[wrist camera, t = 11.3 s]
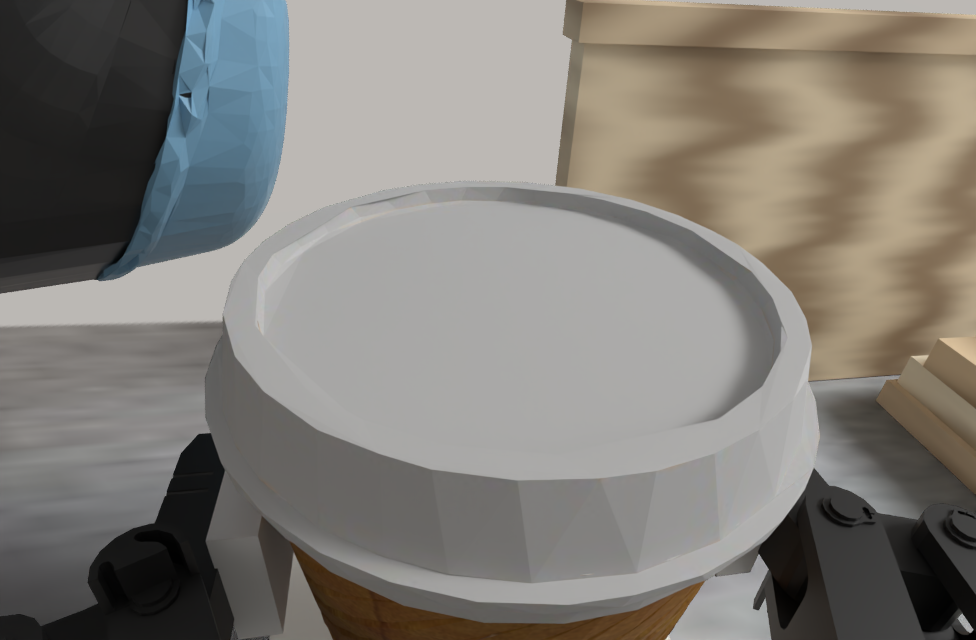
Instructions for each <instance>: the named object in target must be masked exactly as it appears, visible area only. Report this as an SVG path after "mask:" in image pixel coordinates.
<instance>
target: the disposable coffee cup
mask: <svg viewBox="0 0 976 640" xmlns="http://www.w3.org/2000/svg"><path fill="white" fill-rule="evenodd" d="M811 350H812V343H811V339H810V334H809V329H808V325H807V320H806V318H805V316H804V314H803V312H802V310H801V308H800V306H799V305H798V303H797V301H796V299H795V297H794V295H793V293H792V292H791V291H790V290H789V289H788V288H787V287H786V286H785V285H784V284H783V283H782V282H781V281H780V280H779V279H778V278H777V277H776V276H775V275H774V274H773V273H772V272H771V271H770V270H769V269H768V268H767V267H766V266H765V265H764V264H763V263H762V262H761V261H759V260H758V259H756V258H755V257H754V256H752V255H751V254H750V253H748V252H747V251H746V250H744V249H743V248H742V247H740V246H739V245H737V244H736V243H734V242H732V241H730V240H728V239H727V238H725V237H723V236H721V235H719V234H717V233H716V232H714V231H712V230H710V229H707V228H705V227H703V226H701V225H699V224H696V223H694V222H692V221H690V220H688V219H685V218H683V217H681V216H679V215H676V214H673V213H670V212H667V211H664V210H661V209H658V208H655V207H652V206H649V205H646V204H643V203H640V202H637V201H634V200H630V199H626V198H621V197H617V196H612V195H607V194H603V193H598V192H594V191H589V190H584V189H579V188H571V187H562V186H553V185H545V184H536V183H527V182H498V181H497V182H496V181H457V182H445V183H432V184H419V185H413V186H407V187H401V188H395V189H389V190H383V191H379V192H376V193H373V194H369V195H365V196H362V197H358V198H355V199H351V200H348V201H344V202H341V203H337V204H334V205H330V206H327V207H324V208H322V209H320V210H318V211H315V212H313V213H311V214H309V215H307V216H305V217H302V218H301V219H299V220H296V221H294V222H292V223H290V224H288V225H287V226H285V227H284V228H282V229H281V230H279V231H278V232H276V233H275V234H274V235H272V236H271V237H269V238H268V239H266V240H265V241H263V242H262V243H261V244H260V245H259V246H258V247H257V248H256V249H255V250H254V251H253V252H252V253H251V254H250V255H249V256H248V257H247V258H246V259H245V260H244V262H243V263H242V265H241V266H240V268H239V269H238V271H237V273H236V274H235V276H234V278H233V279H232V281H231V284H230V288H229V292H228V296H227V300H226V304H225V307H224V311H223V335H222V337H221V339H220V340H219V342H218V344H217V345H216V348H215V351H214V354H213V357H212V360H211V362H210V365H209V368H208V371H207V374H206V377H205V412H206V421H207V423H208V426H209V429H210V432H211V435H212V438H213V441H214V444H215V446H216V449H217V452H218V455H219V458H220V461H221V464H222V465H223V467H224V469H225V471H226V472H227V474H228V476H229V478H230V480H231V481H232V483H233V485H234V487H235V488H236V490H237V492H238V493H239V494H240V495H241V496H242V497H243V498H244V499H245V500H246V501H248V502H249V503H250V504H251V505H252V506H253V507H254V508H255V509H256V510H257V511H258V512H259V513H260V514H261V515H262V516H263V517H264V518H265V519H266V520H267V521H268V522H269V523H270V524H271V525H272V526H273V527H274V528H275V529H276V530H277V531H278V532H279V533H280V534H281V535H282V536H283V537H284V538H286V539H287V540H289V542H290V544H291V547H292V549H293V551H294V553H295V556H296V558H297V560H298V562H299V565H300V567H301V569H302V571H303V574H304V576H305V578H306V581H307V583H308V585H309V587H310V589H311V592H312V594H313V596H314V599H315V601H316V603H317V605H318V607H319V609H320V611H321V614H322V617H323V620H324V623H325V624H326V626H327V627H328V629H329V632H330V634H331V637H332V639H333V640H665V639H666V638H667V636H668V635H669V634H670V632H671V631H672V630H673V628H674V626H675V624H676V623H677V622H678V620H679V619H680V617H681V616H682V615H683V613H684V612H685V610H686V609H687V607H688V605H689V604H690V602H691V601H692V600H693V598H694V597H695V595H696V594H697V593H698V591H699V589H700V587H701V586H702V585H703V583H704V582H705V581H706V580H708V579H709V578H711V577H712V576H714V575H715V574H717V573H718V572H720V571H721V570H723V569H724V568H726V567H727V566H728V565H730V564H731V563H733V562H734V561H736V560H737V559H739V558H740V557H742V556H743V555H745V554H746V553H748V552H749V551H751V550H752V549H754V548H755V547H756V546H758V545H759V544H761V543H762V542H764V541H765V540H766V539H767V538H768V537H769V536H770V535H771V534H772V532H773V531H774V530H775V529H776V528H777V527H778V525H779V524H780V523H781V522H782V521H783V519H784V518H785V517H786V515H787V514H788V513H789V511H790V510H791V509H792V507H793V506H794V505H795V503H796V502H797V500H798V499H799V497H800V496H801V494H802V493H803V491H804V490H805V488H806V485H807V483H808V480H809V478H810V476H811V473H812V471H813V469H814V464H815V459H816V454H817V449H818V444H819V439H820V432H819V424H818V416H817V407H816V400H815V397H814V395H813V393H812V390H811V388H810V385H809V383H808V377H809V368H810V359H811Z"/></svg>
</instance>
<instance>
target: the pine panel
mask: <svg viewBox="0 0 976 640" xmlns="http://www.w3.org/2000/svg"><path fill="white" fill-rule="evenodd" d="M563 35H564V36H566V37H568V38H570V39H572V45H571V54H570V62H569V71H568V80H567V89H566V97H565V107H564V115H563V123H562V132H561V140H560V149H559V158H558V167H557V175H556V185H555V186H562V187H571V188H579V189H584V190H589V191H594V192H598V193H603V194H607V195H612V196H617V197H621V198H626V199H630V200H634V201H637V202H640V203H643V204H646V205H649V206H652V207H655V208H658V209H661V210H664V211H667V212H670V213H673V214H676V215H679V216H681V217H683V218H685V219H688V220H690V221H692V222H694V223H696V224H699V225H701V226H703V227H705V228H707V229H710V230H712V231H714V232H716V233H717V234H719V235H721V236H723V237H725V238H727V239H728V240H730V241H732V242H734V243H736V244H737V245H739V246H740V247H742V248H743V249H744V250H746V251H747V252H748V253H750V254H751V255H752V256H754V257H755V258H756V259H758V260H759V261H761V262H762V263H763V264H764V265H765V266H766V267H767V268H768V269H769V270H770V271H771V272H772V273H773V274H774V275H775V276H776V277H777V278H778V279H779V280H780V281H781V282H782V283H783V284H784V285H785V286H786V287H787V288H788V289H789V290H790V291H791V292H792V293H793V295H794V297H795V299H796V301H797V303H798V305H799V306H800V308H801V310H802V312H803V314H804V316H805V318H806V320H807V325H808V329H809V334H810V339H811V343H812V350H811V359H810V368H809V377H808V381H817V380H830V379H844V378H858V377H871V376H885V375H898V374H901V373H902V372H903V370H904V368H905V366H906V364H907V363H908V361H909V359H910V357H911V356H923V355H929V354H930V352H931V351H932V349H933V347H934V345H935V344H936V342H937V340H938V338H957V337H976V15H964V14H940V13H918V12H895V11H872V10H871V11H870V10H849V9H848V10H847V9H827V8H803V7H780V6H755V5H735V4H712V3H689V2H666V1H643V0H566V9H565V18H564V27H563Z"/></svg>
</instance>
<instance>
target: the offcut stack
mask: <svg viewBox="0 0 976 640" xmlns="http://www.w3.org/2000/svg"><path fill="white" fill-rule="evenodd" d="M876 401H877V402H878V403H879V404H880V405H881V406H882V407H883V408H884V409H885V410H886V411H887V412H888V413H889V414H890V415H891V416H892V417H894V418H895V419H896V420H897V421H898V422H899V423H900V424H901V425H902V426H903V427H904V428H905V429H906V430H907V431H908V432H909V433H910V434H912V435H913V436H914V437H915V438H916V439H917V440H918V441H919V442H920V443H921V444H922V445H923V446H924V447H925V448H926V449H927V450H928V451H929V452H931V453H932V454H933V455H934V456H935V457H936V458H937V459H938V460H939V461H940V462H941V463H942V464H943V465H944V466H945V467H946V468H947V469H949V470H950V471H951V472H952V473H953V474H954V475H955V476H956V477H957V478H958V479H959V480H960V481H961V482H962V483H963V484H964V485H965V486H966V487H968V488H969V489H970V490H971V491H972V492H973V493H974V494H975V495H976V337H957V338H938V340H937V342H936V344H935V345H934V347H933V349H932V351H931V352H930V354H929V355H923V356H911V357H910V359H909V361H908V363H907V364H906V366H905V368H904V370H903V372H902V373H901V375H900V377H899V379H894V380H887V381H886V382H885V384H884V386H883V388H882V390H881V392H880V394H879V396H878V397H877V399H876Z"/></svg>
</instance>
